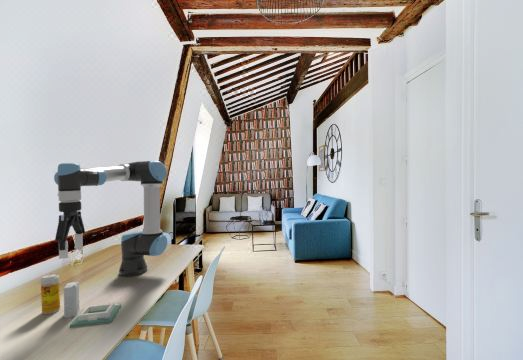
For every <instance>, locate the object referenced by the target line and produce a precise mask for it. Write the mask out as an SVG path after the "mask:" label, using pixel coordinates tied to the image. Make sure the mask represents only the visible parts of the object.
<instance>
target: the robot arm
mask: <svg viewBox="0 0 523 360" xmlns="http://www.w3.org/2000/svg"><path fill="white" fill-rule="evenodd" d="M167 175H168V174H167V168H166V166H165V165H164V163H163V162H162V161H160V160H145V161H144V160H143V161H142V160H141V161H135V162H129V163H121V164H119V165H118V166H107V167H106V166H103V167H101V166H100V167H88V168H81V165H80V164H79V163H74V162H70V163H68V162H66V163H65V162H64V163H59V164H58V166H57V172H55V174H54V175H53V181H54V182H55V184H56V185H57V190H58V193H57V197H58V201H59V202H58V211H59V212H60V213H63V215H62V214H60V215H58V224H57V228H56V234H55V237H54V242H55V243H58V256H59V257H58V258H59V259H60V260H61V259H69V243H68V242H69V241H68V235H69V233H70V230H71V227H72V229H73V231H74V232H75V234H74V250H76V251H77V250H83V249H84V245H83V243H84V240H83V234H85V233H86V231H85V226H84V222H83V217H82V212H81V210H82V201H81V200H82V189H81V188H82V187H97V186H102V185H104V184H105V183H106V182H115V181H121V182H127V181H128V182H140V185H141V186H142V187H143V230H140V231H134V232H133V231H132V232H128V233H124V234H122V235H121V238H120V239H121V242H120V244H121V261H120V266H119V269H118V275H119V276H121V277H133V276H139V275H142V274H144V273H146V272H147V271H148V264H147V262H146V259H145V256H151V257H159V256H162V255H163V253H164V252H165V251H166V249H167V247H168V238H167V236H166V235H164V231H163V229H161V195H160V194H161V193H160V191H161V189H160V188H161V186H162V185H163V182H164V181H165V180H166V178H167ZM59 259H58V260H59Z"/></svg>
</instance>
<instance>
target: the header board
mask: <svg viewBox="0 0 523 360" xmlns="http://www.w3.org/2000/svg"><path fill="white" fill-rule="evenodd" d="M121 307H122V304H115V303H114V302H112V303H104V304H94V305H87V306H86V307H85V308H84V309H82V311H81V312H80V313H79V314H77V316H76V317H75V319H74V320H73V321H72V322H71V323H70V324H69V328H78V327H85V326H96V325H102V324H103V323H104V324H109V323H112V322H113V320H114V319H115V318H116V316H117V314H118V313H119V311H120V309H121Z"/></svg>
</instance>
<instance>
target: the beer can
mask: <svg viewBox="0 0 523 360" xmlns="http://www.w3.org/2000/svg"><path fill="white" fill-rule="evenodd" d="M40 292H41V293H40V295H41V298H40V299H41V300H40V301H41V313H42V314H43V315H51V314H54V313H56V312H58V311H59V310H60V308H61V296H60V295H61V294H60V293H61V292H60V276H59V274H58V273H50V274H46V275H45V274H44V275H42V276H41V279H40Z"/></svg>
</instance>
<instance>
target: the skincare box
mask: <svg viewBox="0 0 523 360" xmlns="http://www.w3.org/2000/svg"><path fill="white" fill-rule="evenodd" d="M79 310H80V282H79V281H74V282H73V281H72V282H68V283H66V285H65V287H64V288H63V313H64V314H63V316H64V317H63V318H65V319H66V318H73V317H77V316H78V313H79V312H80V311H79Z"/></svg>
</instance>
